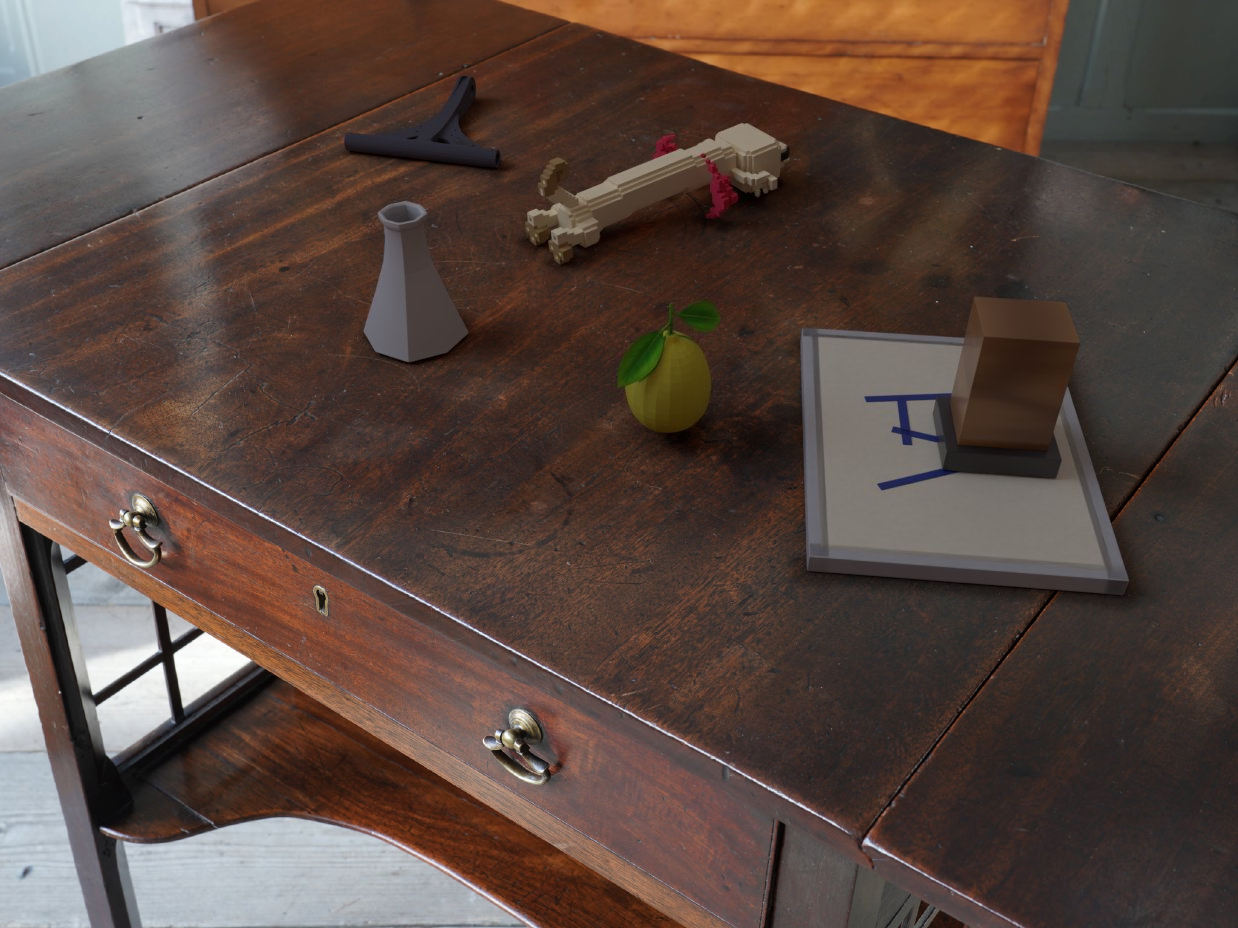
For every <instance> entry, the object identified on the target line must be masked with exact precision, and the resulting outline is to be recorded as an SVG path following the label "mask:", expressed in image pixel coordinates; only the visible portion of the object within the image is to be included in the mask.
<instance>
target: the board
mask: <svg viewBox="0 0 1238 928" xmlns="http://www.w3.org/2000/svg"><path fill="white" fill-rule="evenodd" d="M964 338H965V337H955V336H954V337H953V336H941V335H926V334H925V335H923V334H909V333H895V332H894V333H892V332H878V331H877V332H876V331H862V330H861V331H860V330H847V329H846V330H845V329H830V328H829V329H828V328H814V327H813V328H812V327H802V328H801V333H800V341H799V343H800V346H799V347H800V376H801V378H800V379H801V380H800V381H801V410H802V411H801V413H802V414H801V416H802V445H803V446H802V447H803V448H802V449H803V481H804V482H803V484H804V517H805V548H806V551H805V552H806V553H805V554H806V571H807V572H818V573H830V574H831V573H833V574H845V575H856V576H857V575H858V576H872V577H873V576H874V577H881V578H882V577H883V578H895V579H896V578H897V579H910V580H921V581H922V580H923V581H936V582H947V583H948V582H949V583H961V584H973V585H974V584H975V585H988V586H989V585H990V586H1001V587H1002V586H1003V587H1013V588H1015V587H1016V588H1025V589H1026V588H1027V589H1039V590H1040V589H1041V590H1053V591H1068V592H1079V593H1080V592H1081V593H1091V594H1103V595H1114V596H1115V595H1116V596H1124V594H1125V592H1126V589H1127V587H1128V585H1129V581H1130V579H1129V576H1128V573H1127V570H1126V566H1125V564H1124V560H1123V558H1122V554H1121V551H1120V548H1119V544H1118V542H1117V537H1116V535H1115V532H1114V528H1113V525H1112V523H1111V518H1110V516H1109V513H1108V510H1107V506H1106V502H1105V500H1104V496H1103V494H1102V491H1101V488H1100V484H1099V481H1098V478H1097V474H1096V472H1095V468H1094V464H1093V461H1092V459H1091V456H1090V453H1089V449H1088V446H1087V443H1086V440H1085V436H1084V434H1083V430H1082V427H1081V424H1080V421H1079V418H1078V414H1077V411H1076V408H1075V405H1074V402H1073V398H1072V395H1071V392H1070V389H1069V386H1067V389H1066V392H1065V396H1064V399H1063V402H1062V406H1061V409H1060V412H1059V415H1058V419H1057V422H1056V425H1055V429H1054V435H1055V439H1056V442H1057V445H1058V449H1059V452H1060V455H1061V459H1062V462H1061V465H1060V468H1059V471H1058V474H1057V477H1056V478H1044V477H1030V476H1016V475H1003V474H989V473H976V472H962V471H948V470H942V464H941V459H940V453H939V447H938V441H937V435H936V430H935V424H934V418H933V410H934V405H935V401H936V397H937V396H949V397H951V394H952V390H953V386H954V381H955V377H956V373H957V368H958V364H959V360H960V355H961V351H962V347H963V342H964Z"/></svg>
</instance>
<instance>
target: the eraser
mask: <svg viewBox="0 0 1238 928" xmlns="http://www.w3.org/2000/svg"><path fill="white" fill-rule="evenodd" d="M963 338H964V342H963V347H962V351H961V355H960V360H959V364H958V368H957V373H956V377H955V381H954V386H953V390H952V394H951V397H949V396H937V397H936V401H935V405H934V410H933V418H934V424H935V430H936V435H937V441H938V447H939V453H940V459H941V464H942V470H948V471H962V472H976V473H989V474H1003V475H1016V476H1030V477H1044V478H1056V477H1057V474H1058V471H1059V468H1060V465H1061V462H1062V459H1061V455H1060V452H1059V449H1058V445H1057V442H1056V439H1055V435H1054V429H1055V425H1056V422H1057V419H1058V415H1059V412H1060V409H1061V406H1062V402H1063V399H1064V396H1065V392H1066V389H1067V386H1068V385H1069V382H1070V378H1071V375H1072V372H1073V369H1074V365H1075V362H1076V359H1077V356H1078V352H1079V350H1080V346H1081V340H1080V338H1079V335H1078V332H1077V329H1076V327H1075V324H1074V320H1073V318H1072V315H1071V312H1070V309H1069V307H1068V304H1067V302H1065V301H1051V300H1037V299H1035V300H1034V299H1022V298H1021V299H1020V298H1019V299H1018V298H1005V297H991V296H990V297H987V296H974V297H973V300H972V303H971V307H970V313H969V317H968V321H967V325H966V331H965V334H964V337H963ZM1068 387H1069V386H1068Z"/></svg>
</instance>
